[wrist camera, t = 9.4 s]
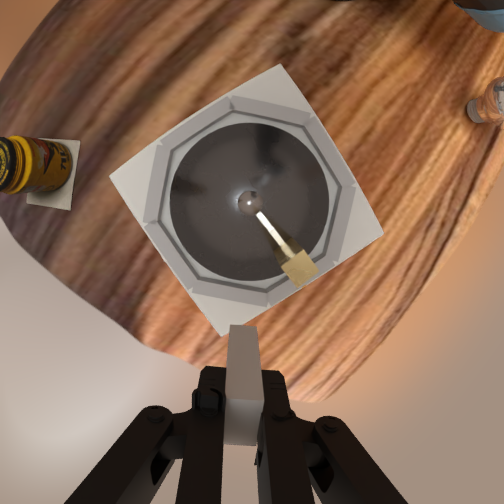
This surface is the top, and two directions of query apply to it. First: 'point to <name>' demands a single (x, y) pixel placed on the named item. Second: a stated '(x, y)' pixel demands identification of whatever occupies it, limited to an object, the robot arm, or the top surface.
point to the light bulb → (489, 104)
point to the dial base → (198, 126)
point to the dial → (250, 203)
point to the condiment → (39, 169)
